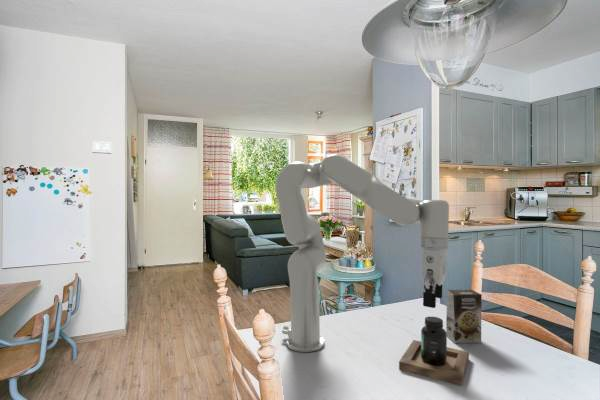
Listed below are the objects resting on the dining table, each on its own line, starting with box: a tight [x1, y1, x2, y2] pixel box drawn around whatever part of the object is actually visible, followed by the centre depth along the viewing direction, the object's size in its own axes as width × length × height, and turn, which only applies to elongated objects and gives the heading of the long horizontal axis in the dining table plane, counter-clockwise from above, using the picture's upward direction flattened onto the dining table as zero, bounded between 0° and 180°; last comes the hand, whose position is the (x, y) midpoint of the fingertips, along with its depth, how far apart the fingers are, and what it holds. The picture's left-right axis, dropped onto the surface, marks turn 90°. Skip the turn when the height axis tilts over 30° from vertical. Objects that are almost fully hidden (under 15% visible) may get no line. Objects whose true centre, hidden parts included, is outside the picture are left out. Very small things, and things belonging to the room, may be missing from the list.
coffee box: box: [445, 289, 483, 344], centre depth 113 cm, size 9×6×16 cm
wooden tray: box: [398, 339, 470, 387], centre depth 98 cm, size 16×16×2 cm
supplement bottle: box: [420, 316, 448, 366], centre depth 97 cm, size 7×7×12 cm
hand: (432, 301), depth 97 cm, fingers open, 9 cm apart
